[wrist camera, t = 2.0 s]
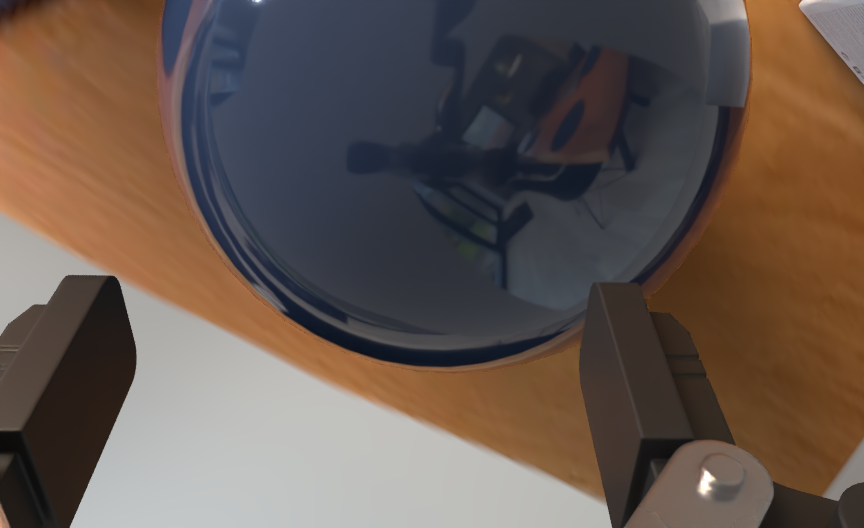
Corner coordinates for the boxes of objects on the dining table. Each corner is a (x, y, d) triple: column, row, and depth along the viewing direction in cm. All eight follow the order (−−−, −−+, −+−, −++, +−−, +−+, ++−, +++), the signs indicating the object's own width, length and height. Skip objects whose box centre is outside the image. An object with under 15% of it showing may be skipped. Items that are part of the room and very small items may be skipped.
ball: (417, -221, 33) (305, -611, 15) (764, 39, 34) (1067, -22, 16) (194, 138, 37) (-115, 185, 19) (509, 363, 38) (511, 619, 20)
